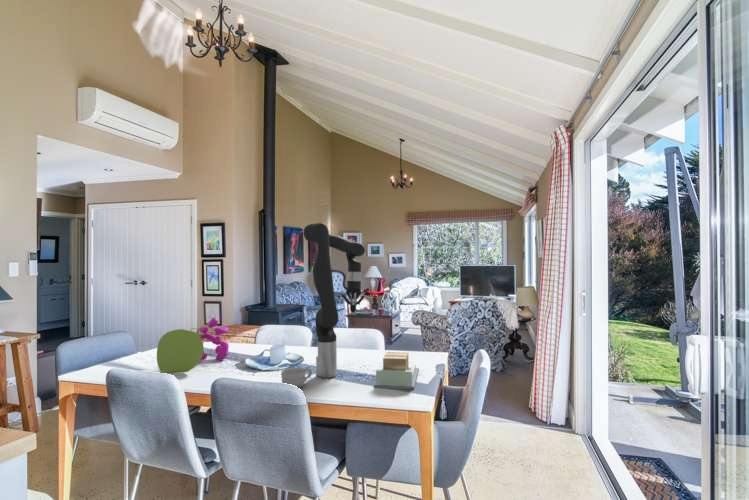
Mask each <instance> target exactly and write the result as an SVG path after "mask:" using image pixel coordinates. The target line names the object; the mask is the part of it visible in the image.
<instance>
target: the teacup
mask: <svg viewBox="0 0 749 500" xmlns="http://www.w3.org/2000/svg"><path fill="white" fill-rule="evenodd" d="M307 371H308V375H307V376H306V374H307ZM280 373H281V384H282V383H287V384H292V385H295V386H297V387H299V388H298V389H300V388H301V387H302V386H303V385H304V384H305V382H306V381H307V380H308V379H309V378H310V377H311V376H312V375H313V374H312V373H313V371H312V369H311V368H310V367H309V368H305V367H288V368H284V369H282V370H280Z"/></svg>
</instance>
